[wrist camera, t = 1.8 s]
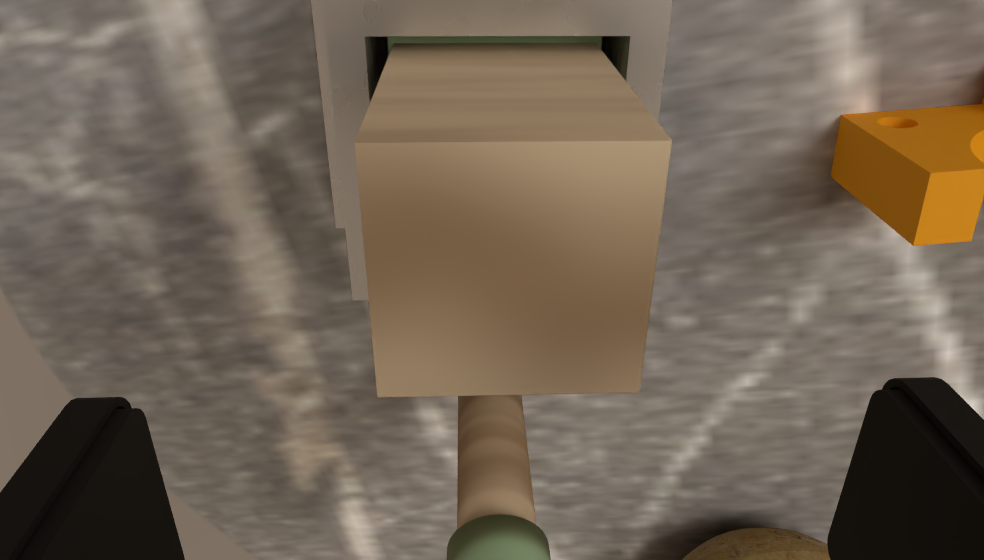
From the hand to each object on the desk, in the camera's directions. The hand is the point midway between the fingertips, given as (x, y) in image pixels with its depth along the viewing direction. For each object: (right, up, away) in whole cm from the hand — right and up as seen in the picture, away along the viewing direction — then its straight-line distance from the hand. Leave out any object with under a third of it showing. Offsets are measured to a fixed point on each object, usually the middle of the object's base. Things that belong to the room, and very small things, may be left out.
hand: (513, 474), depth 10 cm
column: (0, +10, +17) cm, 19 cm away
